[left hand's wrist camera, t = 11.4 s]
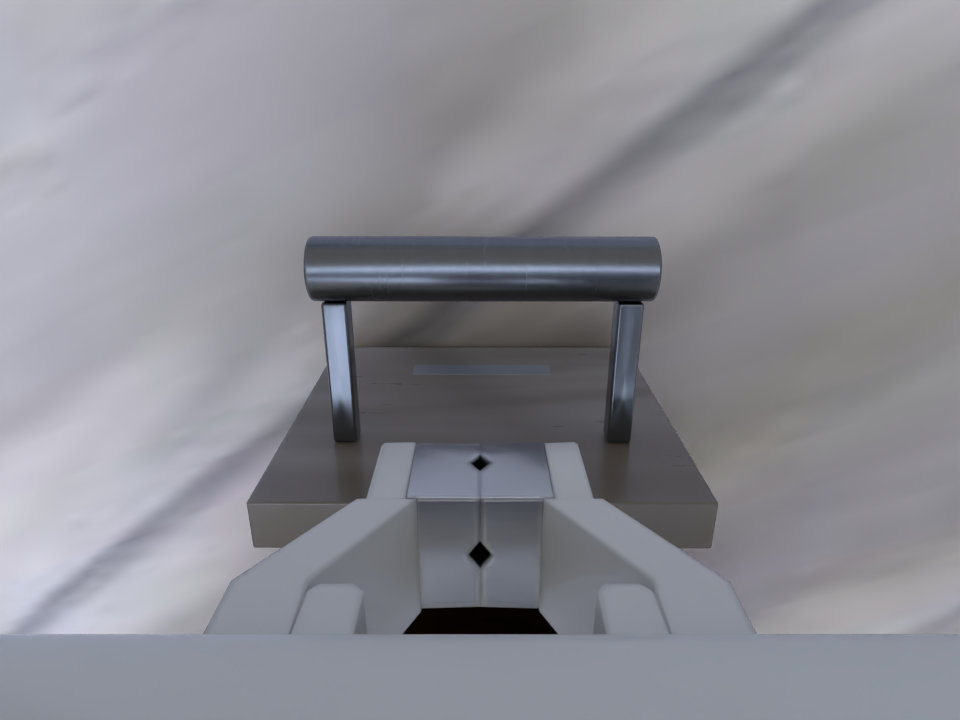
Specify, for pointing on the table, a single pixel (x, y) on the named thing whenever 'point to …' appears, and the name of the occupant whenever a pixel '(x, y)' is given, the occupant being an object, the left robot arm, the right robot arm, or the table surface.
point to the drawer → (482, 390)
